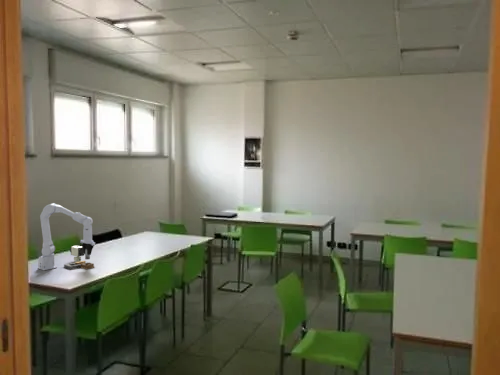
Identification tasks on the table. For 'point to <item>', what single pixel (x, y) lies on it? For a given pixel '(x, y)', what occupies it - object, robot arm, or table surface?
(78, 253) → the pneumatic valve
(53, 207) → the robot arm
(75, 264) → the drift key
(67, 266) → the socket block
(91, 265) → the rack
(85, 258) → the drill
